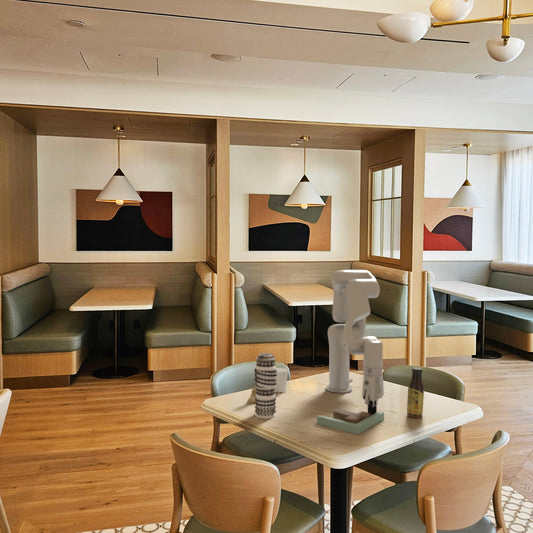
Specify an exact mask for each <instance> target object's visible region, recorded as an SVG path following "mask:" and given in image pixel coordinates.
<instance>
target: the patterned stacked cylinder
mask: <svg viewBox="0 0 533 533" xmlns="http://www.w3.org/2000/svg"><path fill="white" fill-rule="evenodd" d="M255 359H256V365H255V368H254V377H255V378H254V381H255V384H254V386H255V387H256V398H255V400H256V402H255V403H254V404H255V405H254V409H255V410H254V415H255V417H257V418H260V419H272V418H275V417H276V416H277V414H276V412H277V410H276V408H277V406H276V403H277V402H276V399H277V397H276V392H275V387H276V383H275V381H276V379H275V376H277V374H275V373H276V372H277V370H275V368H276V357H275V356H274V355H273V354H272V353H269V352H261V353H259V354H258V356H256V357H255ZM256 370H257V371H256ZM255 373H256V374H255ZM255 387H254V388H255Z"/></svg>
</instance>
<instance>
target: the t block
mask: <svg viewBox="0 0 533 533" xmlns="http://www.w3.org/2000/svg"><path fill="white" fill-rule="evenodd" d="M332 412H333V417H332V418H334V419H338V420H342V421H346V422H350V423H354V424H357V423H359V422H360V421H362V420H364V419H366V418H368V417H370V416H371V413H368V411H367V412H366V411H363V410H361V411H358V412H352V411H349V410H345V409H341V408H337V409H335V410H333V411H332Z"/></svg>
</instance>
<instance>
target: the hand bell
mask: <svg viewBox="0 0 533 533" xmlns="http://www.w3.org/2000/svg"><path fill="white" fill-rule="evenodd" d="M256 371H257V370H256ZM255 374H256V373H255V372H254V375H255ZM249 396H250V397H248V399H247V402H249V403H250V404H255V402H256V400H255V398H256V387H253V388H252V389H251V395H249Z"/></svg>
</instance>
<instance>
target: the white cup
mask: <svg viewBox="0 0 533 533" xmlns="http://www.w3.org/2000/svg"><path fill="white" fill-rule="evenodd" d="M275 370H277V372H276V373H275V374H277V376H275V379H276V381H275V383H276V387H275V393H280V392H281V393H285V392H286V391H287V384H288V373H289V372H288V369H287V368H285V367H283V368H282V367H275Z"/></svg>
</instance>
